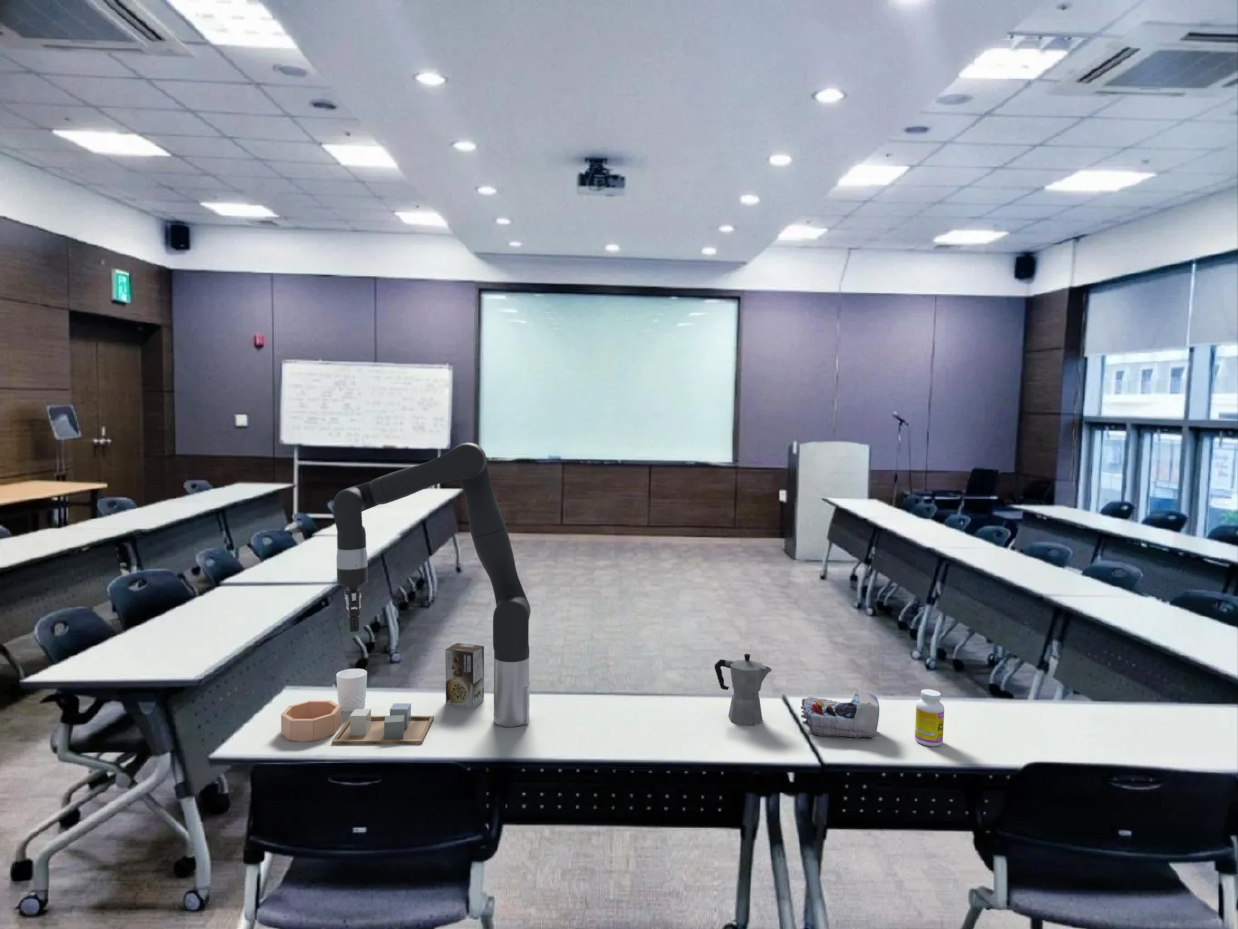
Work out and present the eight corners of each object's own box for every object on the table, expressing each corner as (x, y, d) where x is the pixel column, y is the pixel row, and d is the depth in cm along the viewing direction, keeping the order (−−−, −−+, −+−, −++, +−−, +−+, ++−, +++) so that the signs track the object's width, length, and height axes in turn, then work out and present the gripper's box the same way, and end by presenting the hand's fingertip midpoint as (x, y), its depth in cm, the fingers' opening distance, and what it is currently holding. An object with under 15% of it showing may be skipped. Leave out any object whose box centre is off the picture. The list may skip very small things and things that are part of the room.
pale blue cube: (410, 722, 200) (410, 703, 199) (407, 728, 196) (407, 709, 195) (393, 722, 199) (393, 703, 199) (389, 728, 195) (389, 709, 195)
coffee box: (484, 701, 216) (485, 645, 215) (473, 710, 210) (473, 652, 209) (456, 697, 219) (456, 642, 218) (444, 705, 213) (444, 648, 212)
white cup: (361, 715, 205) (360, 678, 205) (331, 714, 205) (331, 677, 205) (371, 704, 213) (371, 668, 212) (343, 703, 213) (342, 668, 213)
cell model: (884, 702, 192) (803, 698, 195) (883, 744, 193) (802, 740, 196) (874, 684, 205) (798, 680, 208) (873, 723, 206) (797, 719, 209)
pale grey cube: (371, 728, 195) (371, 709, 195) (366, 735, 191) (366, 715, 191) (355, 728, 195) (355, 709, 195) (349, 735, 191) (349, 715, 190)
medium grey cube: (404, 731, 194) (404, 714, 193) (403, 738, 190) (403, 721, 189) (385, 733, 193) (385, 716, 192) (384, 740, 188) (384, 722, 188)
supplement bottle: (940, 749, 190) (942, 699, 190) (912, 743, 194) (914, 693, 193) (944, 740, 196) (947, 691, 195) (917, 734, 200) (919, 686, 199)
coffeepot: (772, 716, 210) (774, 652, 208) (767, 729, 201) (769, 662, 199) (717, 708, 215) (718, 645, 213) (709, 720, 206) (711, 655, 205)
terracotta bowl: (345, 722, 200) (345, 700, 200) (329, 743, 187) (329, 720, 187) (294, 722, 200) (294, 700, 199) (275, 743, 187) (274, 720, 186)
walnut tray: (434, 720, 202) (434, 715, 202) (422, 746, 187) (422, 740, 187) (351, 721, 201) (351, 715, 201) (331, 746, 186) (331, 741, 186)
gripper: (369, 569, 192) (370, 633, 193) (365, 559, 205) (367, 619, 206) (337, 571, 189) (338, 636, 190) (336, 561, 202) (337, 621, 204)
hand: (353, 627), depth 198 cm, fingers open, 8 cm apart
